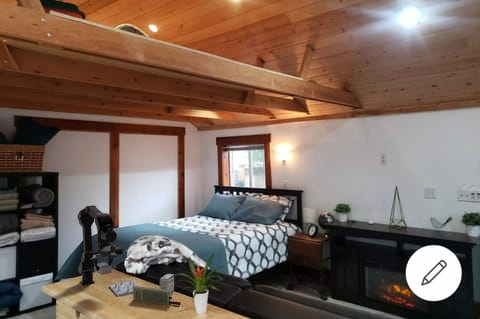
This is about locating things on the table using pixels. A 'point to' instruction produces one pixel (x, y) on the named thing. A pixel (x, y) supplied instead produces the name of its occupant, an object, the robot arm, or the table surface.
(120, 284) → the pin cradle
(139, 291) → the handheld radio
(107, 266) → the block
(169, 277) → the medicine box
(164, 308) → the table surface
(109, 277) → the table surface
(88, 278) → the robot arm
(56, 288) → the table surface
